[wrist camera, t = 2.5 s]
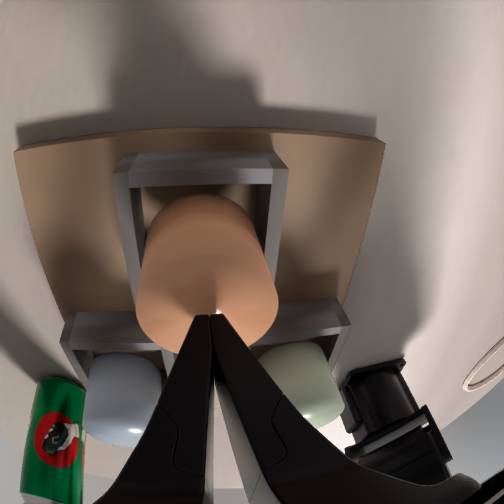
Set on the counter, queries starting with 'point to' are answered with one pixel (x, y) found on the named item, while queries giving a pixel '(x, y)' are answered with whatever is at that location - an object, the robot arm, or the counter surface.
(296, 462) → the robot arm
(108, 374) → the slate-blue button
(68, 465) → the soda can
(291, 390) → the sage button
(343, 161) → the walnut button board
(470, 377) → the hand towel holder
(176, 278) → the terracotta button
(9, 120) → the counter surface
